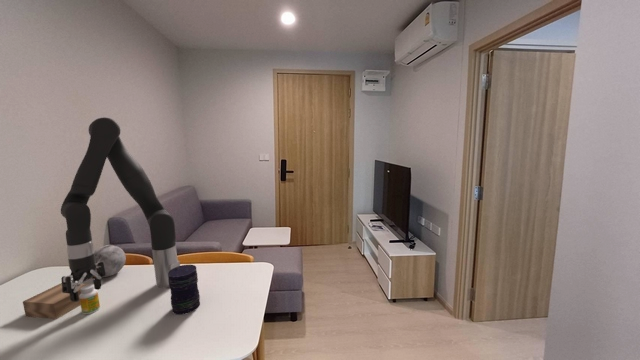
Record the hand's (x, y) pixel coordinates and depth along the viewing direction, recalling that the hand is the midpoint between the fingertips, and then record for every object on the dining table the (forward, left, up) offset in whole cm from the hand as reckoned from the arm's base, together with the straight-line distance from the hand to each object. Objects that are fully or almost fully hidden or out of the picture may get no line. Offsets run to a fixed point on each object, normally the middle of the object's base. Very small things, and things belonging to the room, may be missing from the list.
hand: (87, 294), depth 105 cm
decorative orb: (+19, -26, -7) cm, 33 cm away
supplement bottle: (-1, 0, -7) cm, 7 cm away
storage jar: (-37, -6, -7) cm, 38 cm away
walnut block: (+14, -1, -7) cm, 16 cm away
